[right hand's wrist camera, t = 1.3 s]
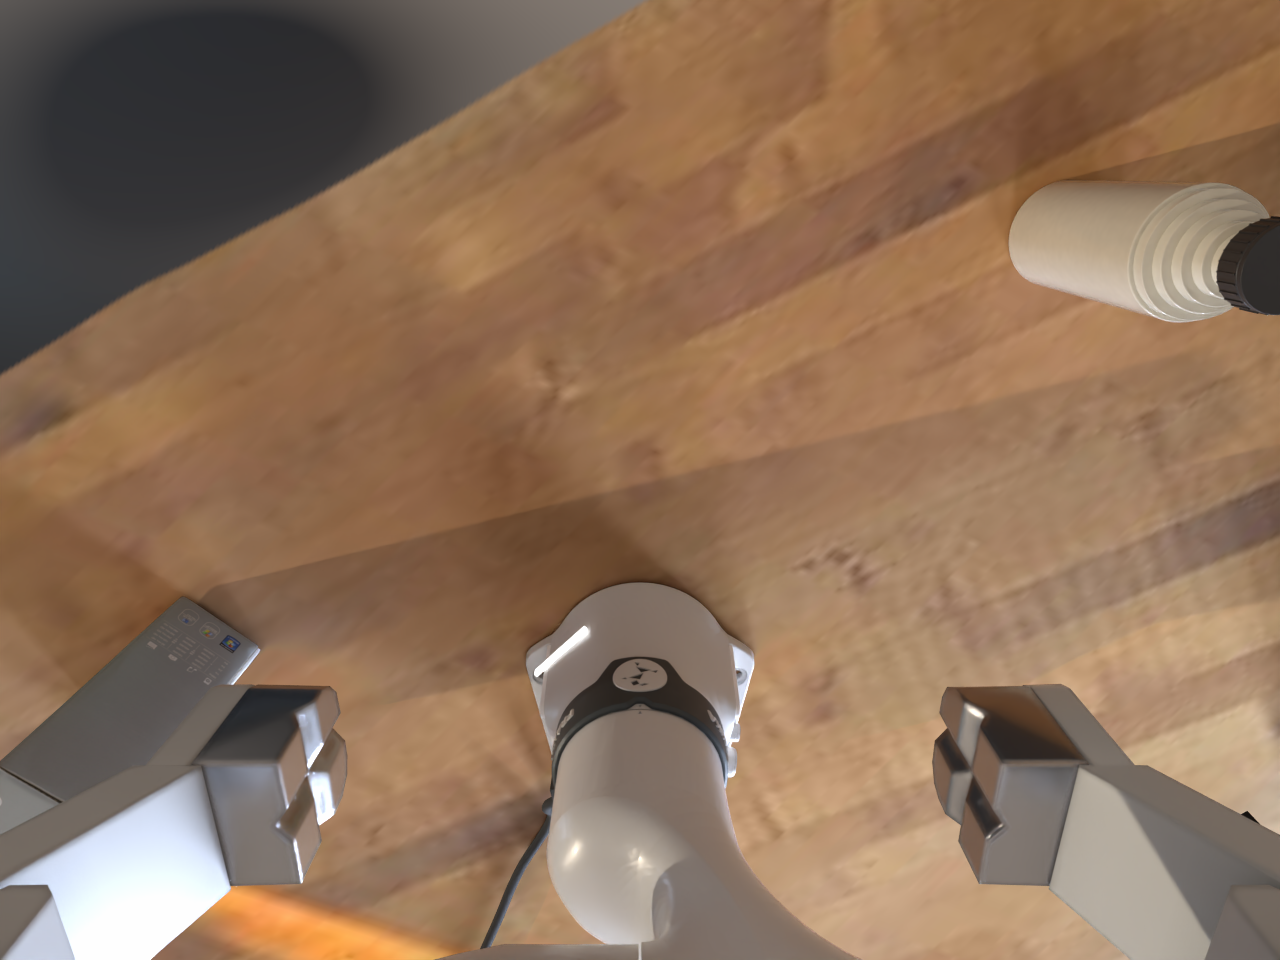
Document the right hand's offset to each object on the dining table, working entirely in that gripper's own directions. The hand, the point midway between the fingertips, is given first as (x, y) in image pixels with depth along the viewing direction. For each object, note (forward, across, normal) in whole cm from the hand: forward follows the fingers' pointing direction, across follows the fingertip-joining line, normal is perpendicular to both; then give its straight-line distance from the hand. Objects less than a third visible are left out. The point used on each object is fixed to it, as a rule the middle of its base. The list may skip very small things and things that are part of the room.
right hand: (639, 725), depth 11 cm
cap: (+28, +29, +3) cm, 40 cm away
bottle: (+48, +29, +3) cm, 56 cm away
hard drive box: (+48, -39, -33) cm, 70 cm away
